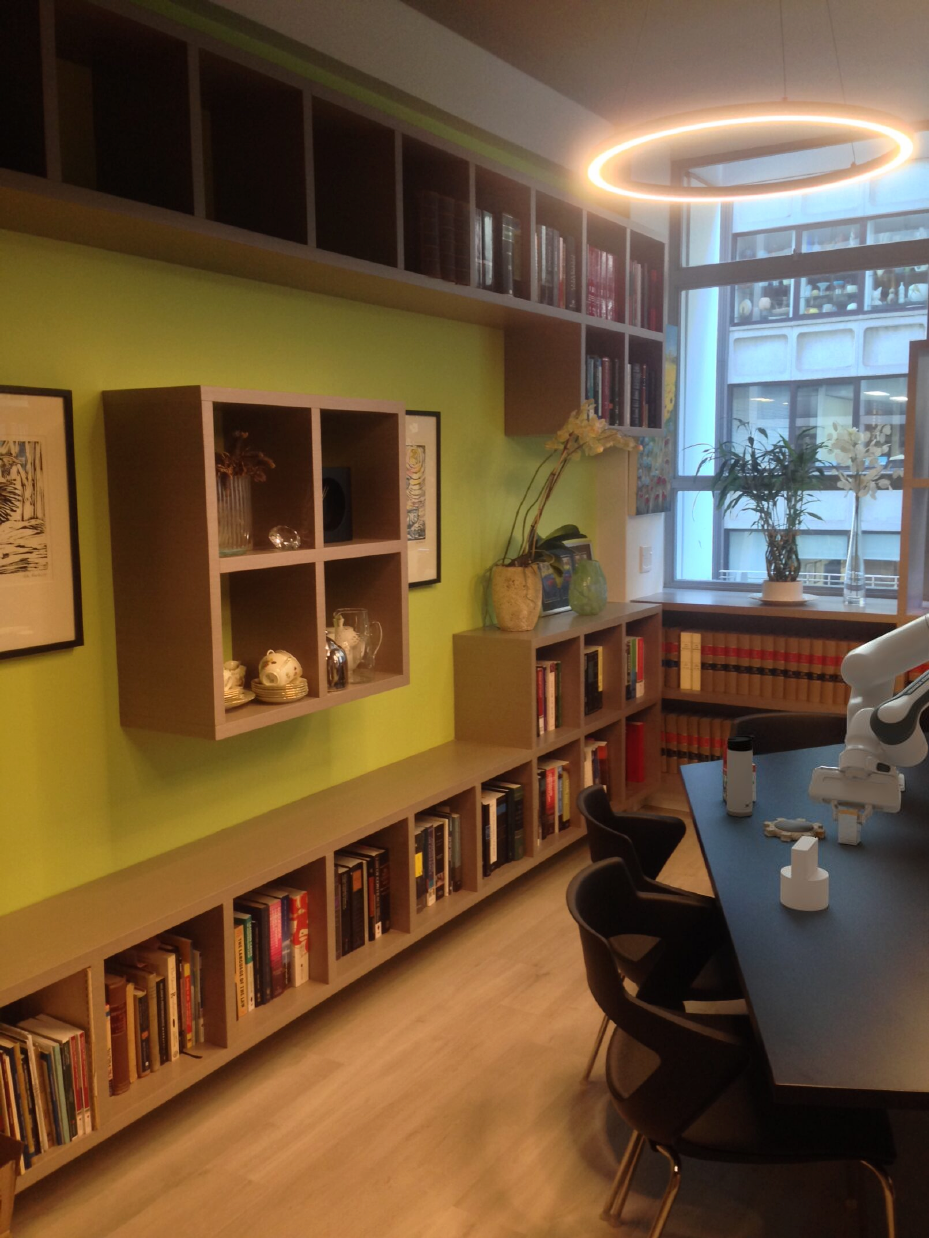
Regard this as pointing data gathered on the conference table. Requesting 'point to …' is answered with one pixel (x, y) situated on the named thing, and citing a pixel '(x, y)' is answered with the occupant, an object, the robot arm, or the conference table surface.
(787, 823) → the toothed wheel
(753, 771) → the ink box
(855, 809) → the link block
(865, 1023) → the conference table surface
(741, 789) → the travel mug
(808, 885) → the base with upright slab
